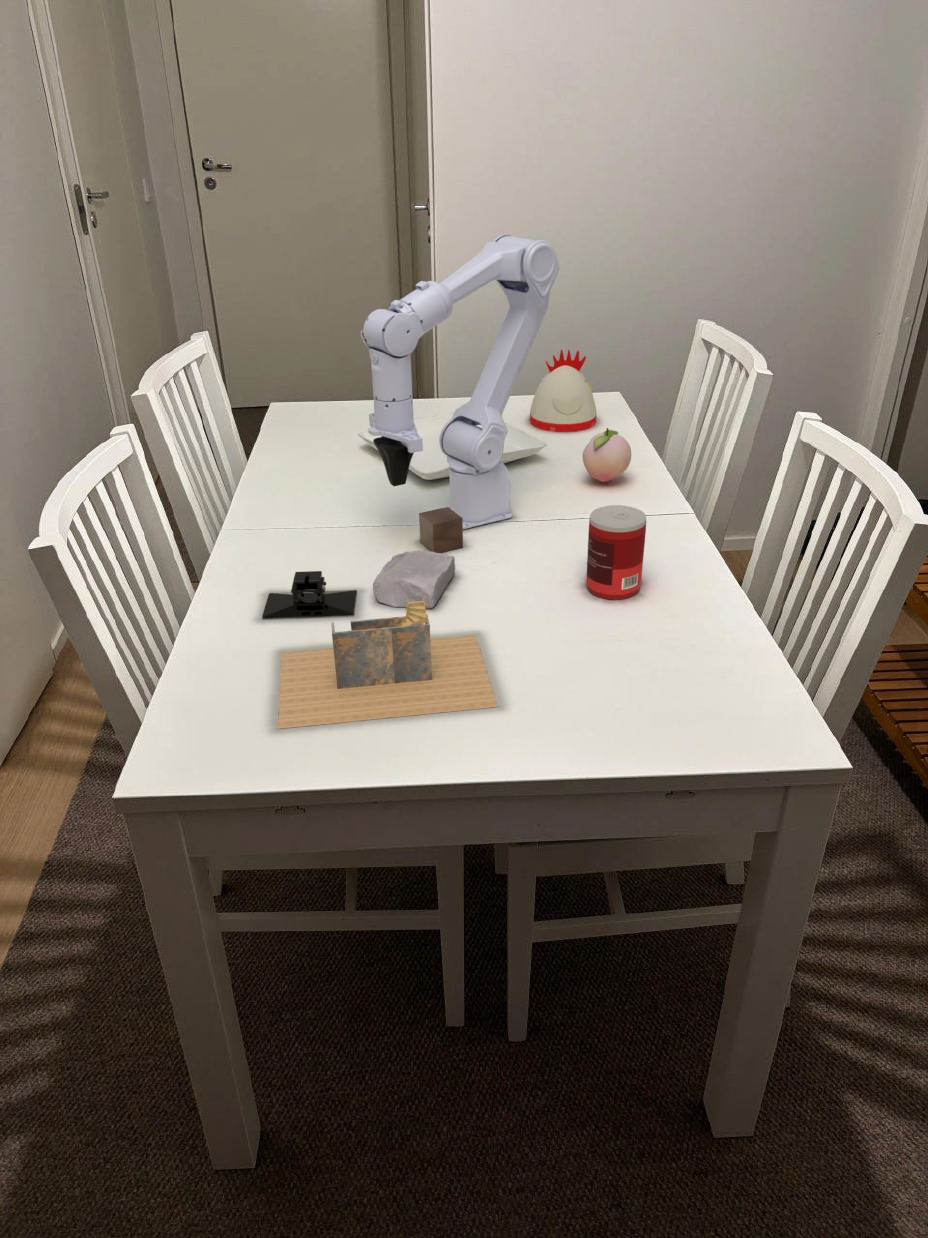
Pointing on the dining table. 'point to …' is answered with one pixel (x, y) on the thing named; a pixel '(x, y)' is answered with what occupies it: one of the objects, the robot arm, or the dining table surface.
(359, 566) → the dining table surface
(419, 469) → the square plate
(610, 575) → the canned food
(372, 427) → the robot arm
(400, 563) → the stone block
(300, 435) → the dining table surface
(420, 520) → the walnut cube
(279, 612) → the build plate
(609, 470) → the decorative fruit
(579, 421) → the kitchen timer
